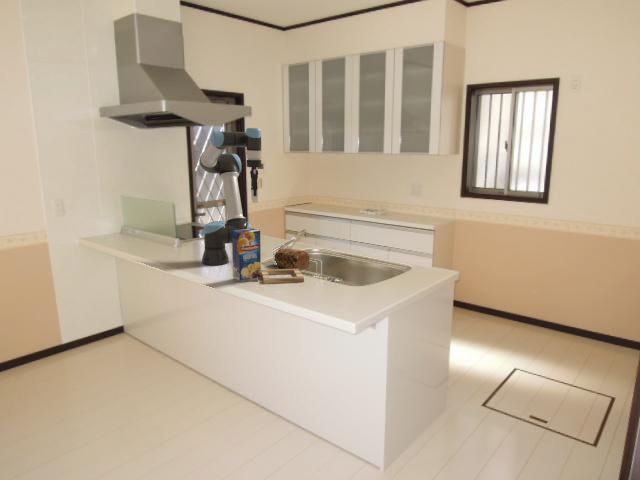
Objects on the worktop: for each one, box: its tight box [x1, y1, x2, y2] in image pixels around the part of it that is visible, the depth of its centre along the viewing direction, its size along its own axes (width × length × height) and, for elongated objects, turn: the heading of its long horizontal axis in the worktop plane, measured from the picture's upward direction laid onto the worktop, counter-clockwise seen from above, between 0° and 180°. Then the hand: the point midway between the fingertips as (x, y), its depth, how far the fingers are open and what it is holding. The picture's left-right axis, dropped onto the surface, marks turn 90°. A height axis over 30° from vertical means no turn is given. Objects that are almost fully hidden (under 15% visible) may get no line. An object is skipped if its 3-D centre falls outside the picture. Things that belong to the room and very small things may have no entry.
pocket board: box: [261, 268, 305, 285], centre depth 234 cm, size 18×20×2 cm
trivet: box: [234, 277, 259, 283], centre depth 232 cm, size 11×11×1 cm
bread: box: [273, 248, 310, 271], centre depth 256 cm, size 19×11×10 cm, turn 47°
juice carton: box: [231, 227, 262, 281], centre depth 229 cm, size 12×8×24 cm, turn 128°
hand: (254, 201), depth 236 cm, fingers open, 13 cm apart
